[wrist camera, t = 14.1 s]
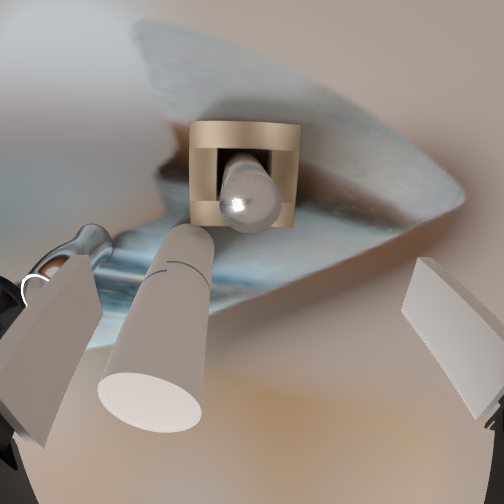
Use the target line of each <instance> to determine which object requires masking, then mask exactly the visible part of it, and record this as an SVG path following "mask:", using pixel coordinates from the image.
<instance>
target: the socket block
mask: <svg viewBox="0 0 504 504" xmlns="http://www.w3.org/2000/svg"><path fill="white" fill-rule="evenodd" d="M300 139H301V125H295V124H283V123H268V122H249V121H190V131H189V196H190V226H229V225H228V224H227V223H226V222H225V220H224V219H223V217H222V215H221V212H220V207H219V202H220V194H221V193H218V148H247V149H268V158H267V174H268V175H269V177H270V178H271V179H272V181H273V182H274V184H275V185H276V186H277V188H278V190H279V192H280V194H281V199H282V207H281V212H280V214H279V217H278V218H277V220H276V221H275V223H274V224H273V225H272V226H270V227H292V228H293V222H294V212H295V201H296V190H297V178H298V166H299V153H300Z"/></svg>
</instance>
